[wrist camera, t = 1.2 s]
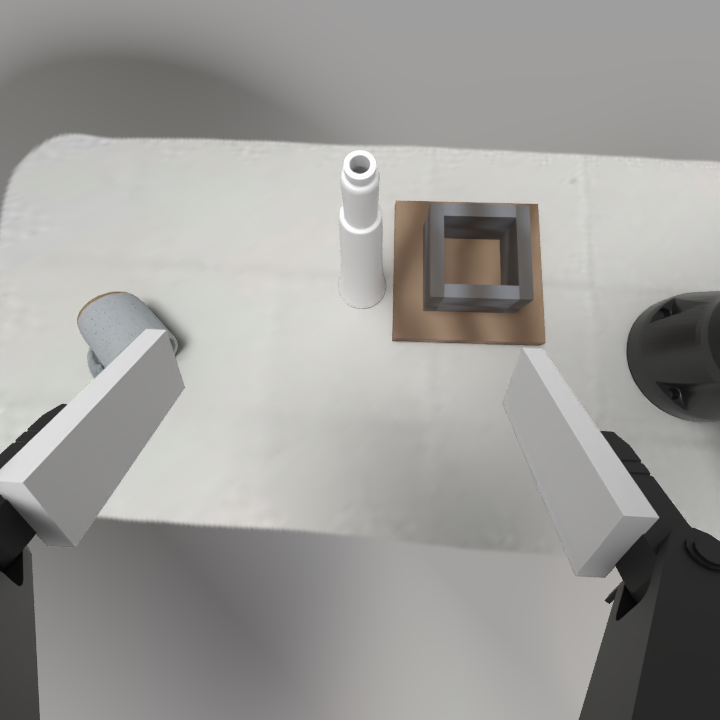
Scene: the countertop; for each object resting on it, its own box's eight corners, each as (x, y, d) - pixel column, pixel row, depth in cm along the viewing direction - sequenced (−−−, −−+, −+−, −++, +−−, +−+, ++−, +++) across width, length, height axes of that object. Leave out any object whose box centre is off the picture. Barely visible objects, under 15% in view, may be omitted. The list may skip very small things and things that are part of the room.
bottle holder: (532, 210, 47) (558, 177, 41) (539, 345, 44) (568, 332, 38) (394, 207, 47) (399, 174, 41) (392, 340, 44) (397, 327, 38)
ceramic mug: (149, 299, 46) (105, 275, 38) (190, 344, 45) (153, 329, 37) (83, 356, 45) (25, 344, 37) (124, 404, 44) (72, 401, 36)
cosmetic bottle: (380, 313, 45) (395, 213, 23) (333, 303, 45) (305, 195, 24) (390, 268, 46) (413, 133, 24) (343, 259, 46) (326, 117, 25)
